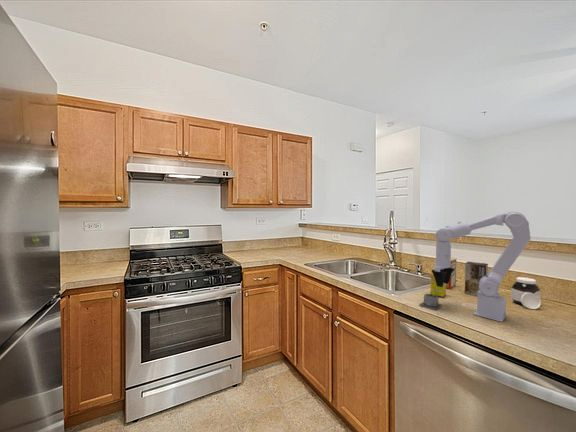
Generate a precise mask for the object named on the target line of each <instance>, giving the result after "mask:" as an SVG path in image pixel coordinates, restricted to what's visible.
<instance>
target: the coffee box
mask: <svg viewBox="0 0 576 432" xmlns="http://www.w3.org/2000/svg"><path fill="white" fill-rule="evenodd" d="M464 265H465V267H464V275H465V276H464V295H465V294H466V295H470V296H475V297H477V296H478V291H479V284H480V283H479V281H480V279H481V278H482V277H484V276H486V275H487V274H488V272H489V269H488V268H489V264H488V263H485V262H477V261H476V262H475V261H466V262H465V264H464Z"/></svg>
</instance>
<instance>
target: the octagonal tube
mask: <svg viewBox="0 0 576 432" xmlns="http://www.w3.org/2000/svg"><path fill="white" fill-rule="evenodd" d="M428 296H432V297H428ZM439 298H440V297H438V296H437V295H433V294H431V293H425V294H423V302H424V304H425V305H427V306H430V307H437V306H438V304H439Z"/></svg>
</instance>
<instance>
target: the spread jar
mask: <svg viewBox="0 0 576 432" xmlns="http://www.w3.org/2000/svg"><path fill="white" fill-rule="evenodd" d="M515 279H516V282H514V283H513V284H512V286H511V293H510V295H511V299H512V301H513V302H514V303H516V304H517V305H520V306H524V307H525V308H526V309H529V310H536V309H539V308H541V305H542V301H541V289H540V287H539V285H537V280H536V279H534V278H530V277H523V276H521V277H520V276H519V277H516V278H515Z"/></svg>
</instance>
